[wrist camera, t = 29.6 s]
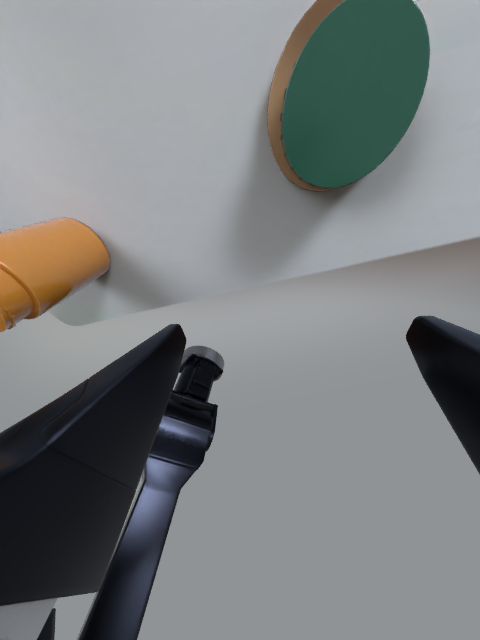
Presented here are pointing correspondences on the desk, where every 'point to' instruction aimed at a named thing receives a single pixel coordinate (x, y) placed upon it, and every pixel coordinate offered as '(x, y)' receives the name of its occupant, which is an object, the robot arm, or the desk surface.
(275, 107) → the coaster
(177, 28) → the desk surface
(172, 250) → the desk surface
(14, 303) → the honey jar
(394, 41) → the jar lid
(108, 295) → the desk surface
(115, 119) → the desk surface
